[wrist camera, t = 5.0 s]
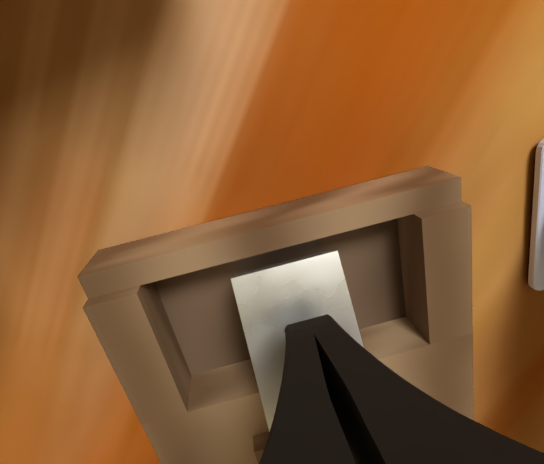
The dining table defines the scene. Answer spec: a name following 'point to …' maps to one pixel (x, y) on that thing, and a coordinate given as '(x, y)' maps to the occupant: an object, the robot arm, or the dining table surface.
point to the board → (264, 252)
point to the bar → (288, 311)
